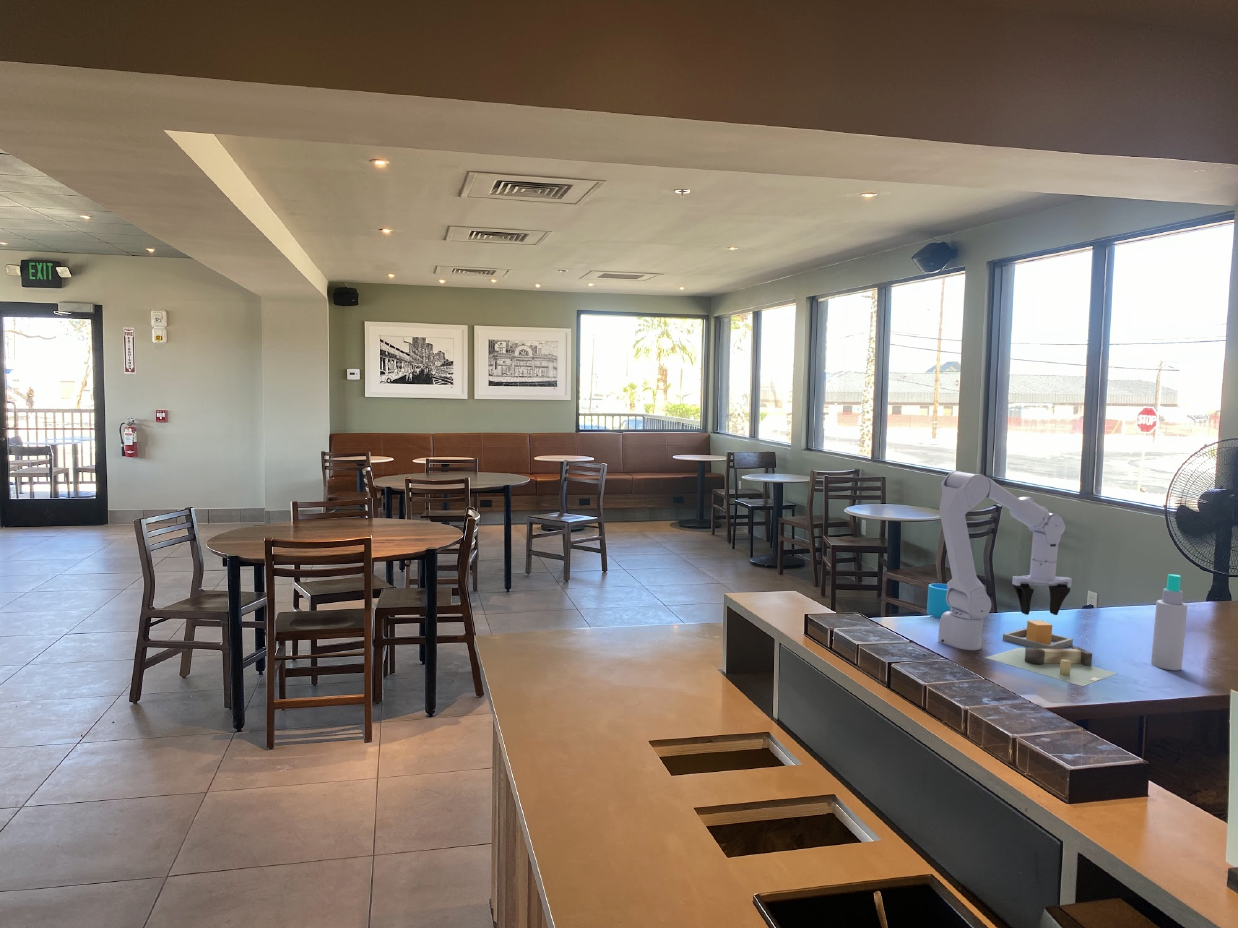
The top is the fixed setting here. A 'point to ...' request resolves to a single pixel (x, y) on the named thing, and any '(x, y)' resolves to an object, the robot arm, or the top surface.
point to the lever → (1057, 655)
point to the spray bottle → (1169, 627)
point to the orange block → (1039, 632)
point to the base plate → (1054, 668)
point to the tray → (1015, 638)
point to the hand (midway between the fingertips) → (1039, 613)
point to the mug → (937, 600)
